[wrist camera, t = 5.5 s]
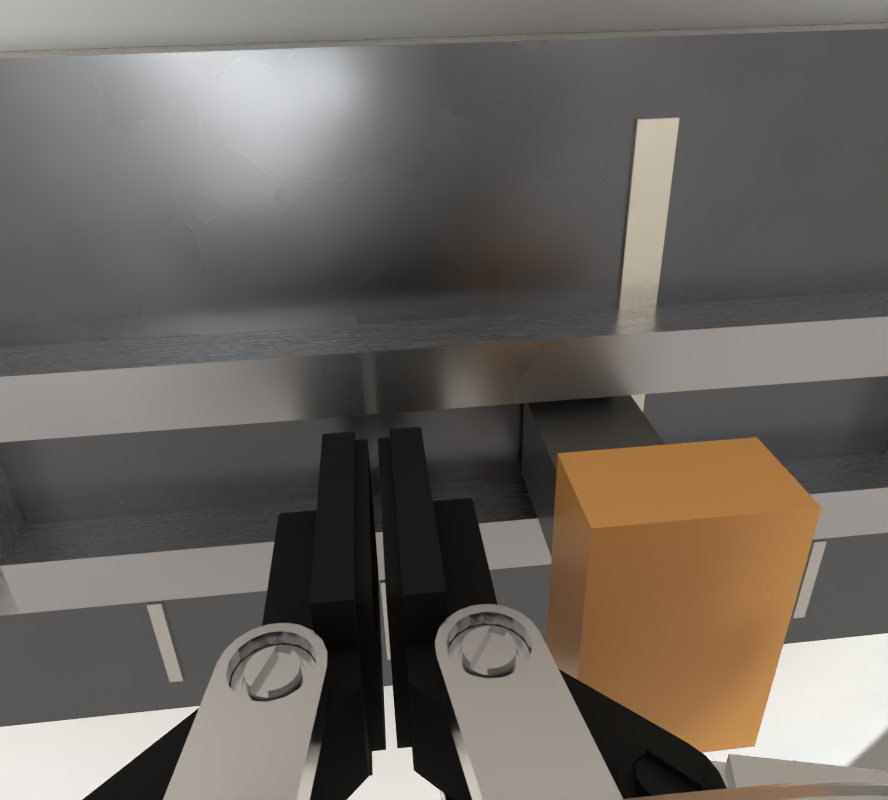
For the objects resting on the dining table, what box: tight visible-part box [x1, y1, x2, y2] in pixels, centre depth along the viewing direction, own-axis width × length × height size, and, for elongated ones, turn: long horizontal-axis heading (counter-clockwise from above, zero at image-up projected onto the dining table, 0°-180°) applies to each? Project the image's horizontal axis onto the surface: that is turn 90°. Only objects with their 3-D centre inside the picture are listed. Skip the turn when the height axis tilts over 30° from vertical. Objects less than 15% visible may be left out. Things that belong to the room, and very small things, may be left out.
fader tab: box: [522, 395, 822, 753], centre depth 12 cm, size 3×4×6 cm, turn 1°
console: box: [0, 23, 888, 727], centre depth 15 cm, size 26×14×3 cm, turn 91°
